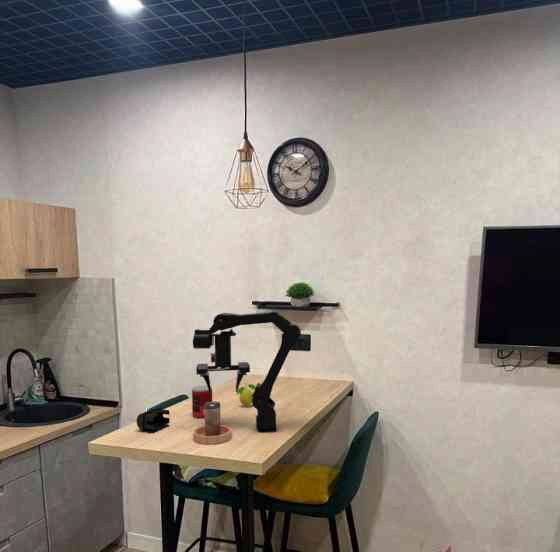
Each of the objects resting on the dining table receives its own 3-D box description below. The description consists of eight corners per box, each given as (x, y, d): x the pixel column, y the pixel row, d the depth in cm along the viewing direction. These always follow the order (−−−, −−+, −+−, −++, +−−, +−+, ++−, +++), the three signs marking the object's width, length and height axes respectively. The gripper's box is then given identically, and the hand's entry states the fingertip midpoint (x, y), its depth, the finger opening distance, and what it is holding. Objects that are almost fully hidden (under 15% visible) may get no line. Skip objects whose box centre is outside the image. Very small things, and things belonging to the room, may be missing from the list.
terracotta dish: (230, 431, 167) (230, 423, 167) (232, 443, 155) (232, 435, 155) (194, 433, 166) (194, 425, 166) (192, 445, 153) (192, 438, 153)
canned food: (215, 413, 190) (214, 385, 190) (208, 419, 182) (208, 390, 182) (196, 412, 191) (196, 384, 191) (189, 418, 183) (189, 389, 183)
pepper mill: (220, 433, 163) (220, 401, 163) (220, 438, 158) (220, 405, 158) (205, 434, 162) (204, 401, 162) (204, 439, 157) (204, 406, 157)
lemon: (257, 405, 200) (256, 381, 200) (250, 409, 195) (250, 384, 195) (243, 403, 203) (242, 380, 203) (236, 407, 197) (235, 383, 197)
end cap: (155, 423, 177) (155, 405, 177) (170, 426, 174) (170, 407, 174) (136, 431, 168) (135, 412, 168) (151, 434, 165) (151, 414, 165)
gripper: (247, 344, 179) (248, 386, 179) (197, 346, 176) (197, 388, 176) (249, 349, 168) (250, 393, 168) (196, 350, 165) (196, 395, 165)
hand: (223, 392), depth 170 cm, fingers open, 9 cm apart
